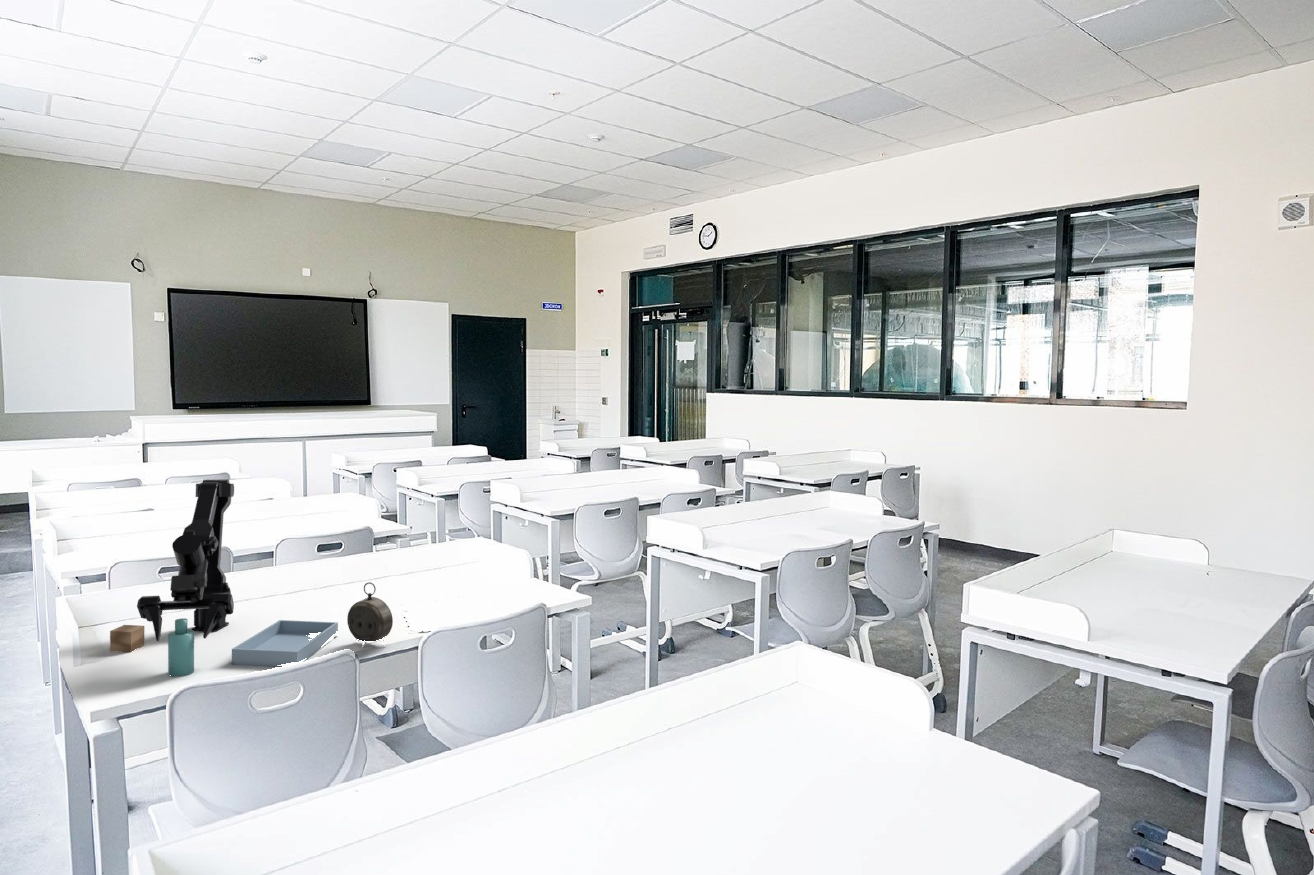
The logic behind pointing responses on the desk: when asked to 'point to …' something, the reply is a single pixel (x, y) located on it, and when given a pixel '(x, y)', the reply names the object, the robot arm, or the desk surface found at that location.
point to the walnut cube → (127, 638)
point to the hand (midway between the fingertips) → (181, 639)
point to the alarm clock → (370, 618)
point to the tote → (283, 643)
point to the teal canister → (181, 650)
